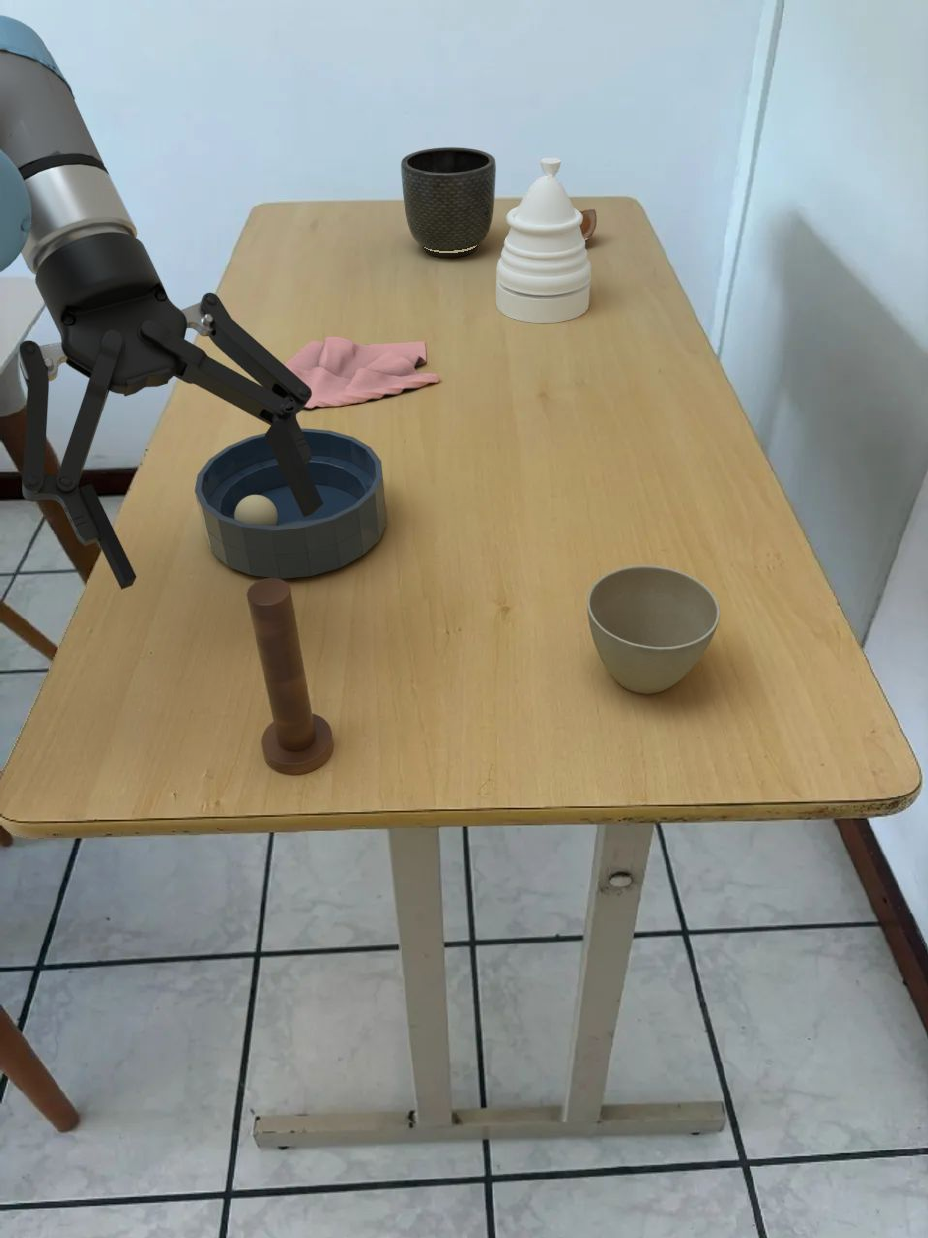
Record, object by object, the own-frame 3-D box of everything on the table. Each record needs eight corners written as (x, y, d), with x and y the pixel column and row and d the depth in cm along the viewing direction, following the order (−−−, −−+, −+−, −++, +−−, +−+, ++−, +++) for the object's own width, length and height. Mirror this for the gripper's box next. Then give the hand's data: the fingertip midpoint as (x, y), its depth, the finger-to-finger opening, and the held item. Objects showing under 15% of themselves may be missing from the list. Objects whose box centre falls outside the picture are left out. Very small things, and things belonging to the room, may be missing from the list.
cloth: (236, 392, 114) (232, 373, 113) (339, 323, 129) (337, 305, 127) (381, 431, 107) (379, 412, 105) (473, 353, 121) (473, 335, 120)
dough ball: (277, 488, 91) (290, 529, 92) (242, 499, 92) (254, 539, 93) (257, 491, 87) (270, 533, 88) (220, 502, 89) (233, 544, 89)
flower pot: (732, 682, 76) (749, 614, 72) (638, 736, 72) (649, 667, 67) (647, 615, 82) (656, 548, 78) (555, 661, 78) (560, 594, 74)
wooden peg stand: (256, 773, 70) (218, 616, 60) (271, 721, 74) (238, 565, 64) (327, 776, 70) (300, 618, 60) (338, 723, 74) (315, 567, 64)
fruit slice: (548, 254, 146) (549, 220, 143) (535, 238, 151) (536, 206, 148) (600, 248, 148) (602, 215, 145) (586, 233, 153) (588, 201, 149)
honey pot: (508, 281, 138) (509, 147, 127) (596, 289, 136) (606, 153, 124) (485, 317, 129) (485, 176, 117) (579, 327, 126) (589, 184, 115)
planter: (493, 266, 143) (494, 174, 135) (400, 265, 144) (395, 174, 135) (496, 233, 154) (497, 146, 145) (410, 232, 154) (405, 146, 146)
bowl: (200, 591, 86) (186, 536, 82) (215, 486, 99) (203, 435, 95) (391, 574, 87) (387, 520, 83) (381, 473, 100) (377, 422, 96)
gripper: (244, 245, 73) (364, 498, 74) (-105, 331, 62) (40, 627, 62) (267, 189, 66) (399, 468, 67) (-121, 274, 55) (41, 607, 56)
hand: (225, 545), depth 65 cm, fingers open, 13 cm apart
